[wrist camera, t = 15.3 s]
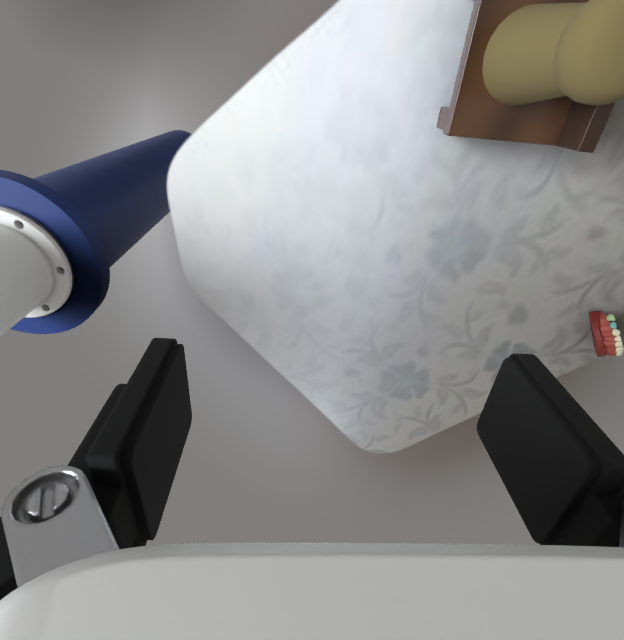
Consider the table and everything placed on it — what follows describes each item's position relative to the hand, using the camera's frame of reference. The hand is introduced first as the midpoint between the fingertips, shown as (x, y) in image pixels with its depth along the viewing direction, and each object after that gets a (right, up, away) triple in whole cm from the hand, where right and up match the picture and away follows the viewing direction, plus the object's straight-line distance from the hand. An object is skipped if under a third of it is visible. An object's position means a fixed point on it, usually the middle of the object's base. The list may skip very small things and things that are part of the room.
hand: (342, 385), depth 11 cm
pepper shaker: (+14, +21, +16) cm, 30 cm away
